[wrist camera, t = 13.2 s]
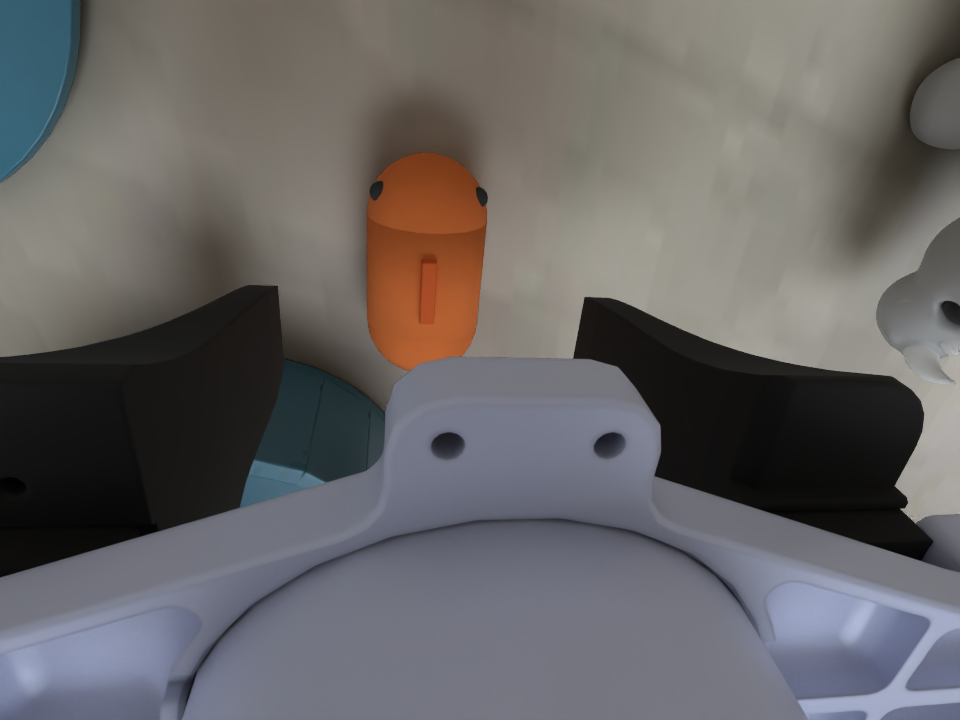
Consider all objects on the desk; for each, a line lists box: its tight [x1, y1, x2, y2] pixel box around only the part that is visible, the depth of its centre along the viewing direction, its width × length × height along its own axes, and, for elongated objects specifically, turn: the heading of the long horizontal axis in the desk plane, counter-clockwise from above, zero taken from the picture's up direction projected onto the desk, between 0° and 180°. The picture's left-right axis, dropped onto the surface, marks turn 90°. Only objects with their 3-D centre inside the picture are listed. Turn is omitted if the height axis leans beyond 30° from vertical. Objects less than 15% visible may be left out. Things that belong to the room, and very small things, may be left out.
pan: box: [240, 359, 385, 508], centre depth 21 cm, size 12×18×6 cm
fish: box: [367, 153, 488, 371], centre depth 18 cm, size 8×3×4 cm, turn 175°
